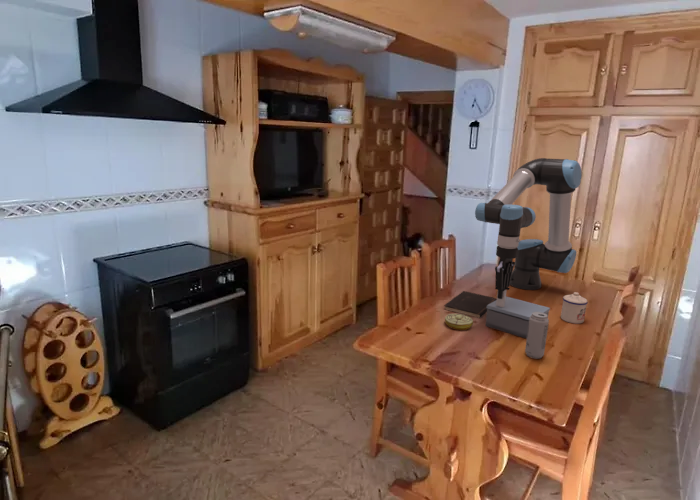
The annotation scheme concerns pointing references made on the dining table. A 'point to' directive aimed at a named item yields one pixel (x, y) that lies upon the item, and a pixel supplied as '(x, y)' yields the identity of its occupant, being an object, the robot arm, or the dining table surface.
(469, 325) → the olive round disc
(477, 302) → the hardcover book
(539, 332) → the energy drink can
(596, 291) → the dining table surface
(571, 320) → the teacup with lid
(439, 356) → the dining table surface
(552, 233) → the robot arm
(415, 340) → the dining table surface
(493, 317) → the grey hinged box
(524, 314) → the gray box lid
